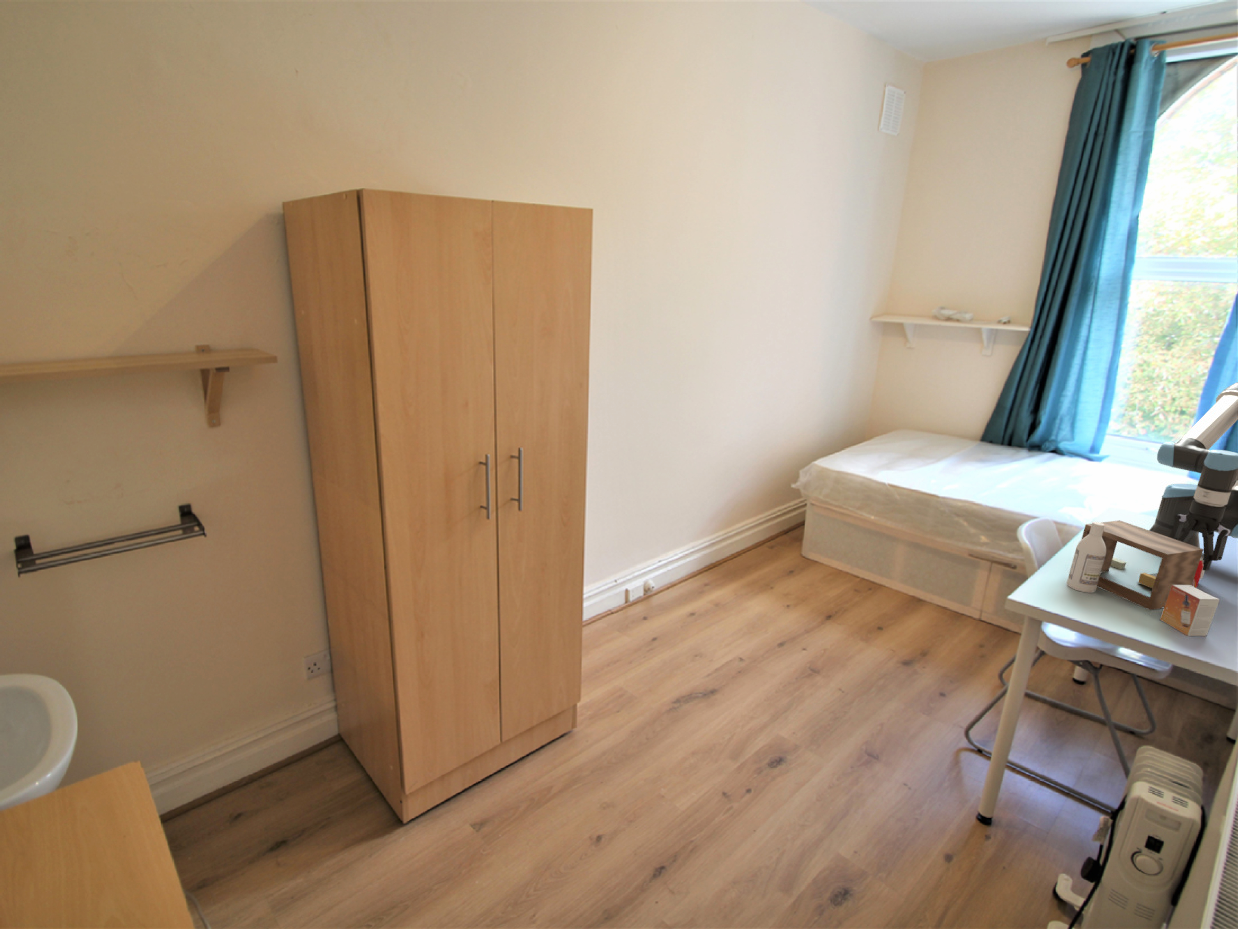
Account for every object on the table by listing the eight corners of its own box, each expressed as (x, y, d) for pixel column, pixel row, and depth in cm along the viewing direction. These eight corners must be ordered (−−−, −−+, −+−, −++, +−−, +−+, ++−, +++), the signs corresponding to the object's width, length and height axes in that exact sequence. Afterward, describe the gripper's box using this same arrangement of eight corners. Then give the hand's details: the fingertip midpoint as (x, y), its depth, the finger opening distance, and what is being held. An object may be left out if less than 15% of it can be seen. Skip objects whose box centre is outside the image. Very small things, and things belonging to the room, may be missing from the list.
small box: (1159, 620, 170) (1170, 584, 167) (1178, 620, 170) (1190, 584, 167) (1187, 636, 162) (1200, 599, 159) (1207, 636, 163) (1220, 599, 160)
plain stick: (1076, 554, 212) (1078, 547, 211) (1080, 553, 213) (1082, 546, 213) (1120, 570, 201) (1122, 563, 200) (1124, 569, 202) (1126, 562, 202)
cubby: (1105, 570, 200) (1119, 520, 195) (1185, 603, 180) (1203, 549, 176) (1071, 575, 195) (1085, 524, 190) (1150, 610, 175) (1167, 554, 170)
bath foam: (1101, 592, 185) (1119, 527, 179) (1084, 594, 182) (1102, 529, 177) (1077, 581, 191) (1094, 518, 185) (1060, 584, 188) (1078, 520, 183)
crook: (1179, 575, 199) (1187, 548, 197) (1218, 589, 190) (1227, 561, 187) (1133, 580, 192) (1141, 552, 190) (1172, 596, 183) (1181, 567, 181)
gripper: (1166, 493, 197) (1144, 562, 203) (1239, 514, 180) (1214, 589, 186) (1181, 491, 199) (1160, 560, 206) (1255, 512, 183) (1230, 586, 189)
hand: (1186, 574), depth 196 cm, fingers open, 6 cm apart
